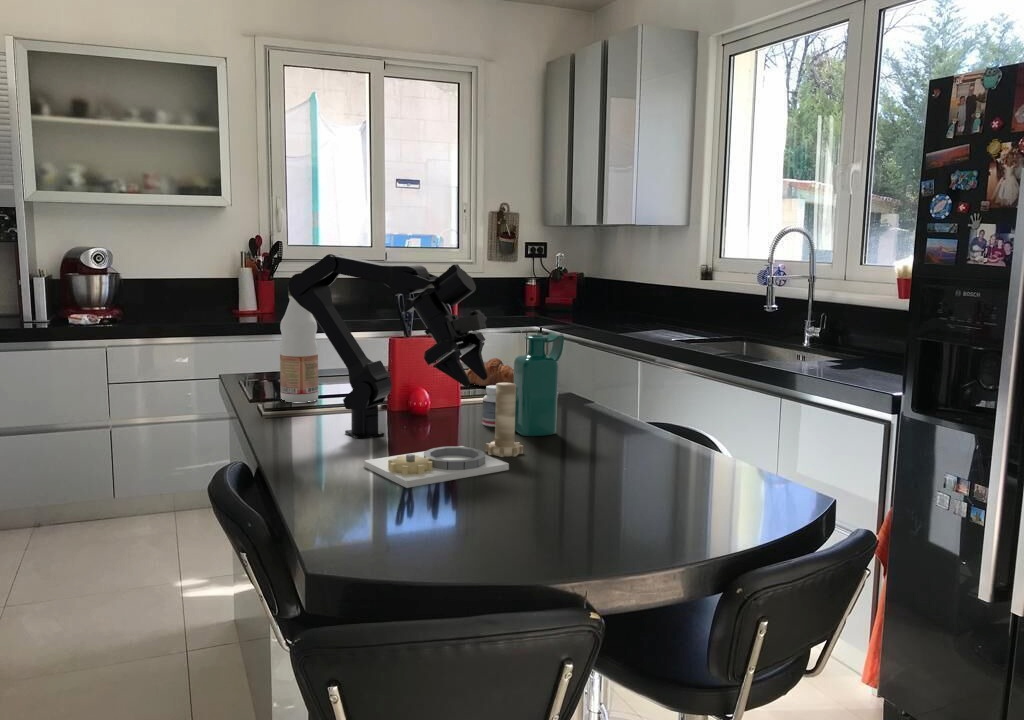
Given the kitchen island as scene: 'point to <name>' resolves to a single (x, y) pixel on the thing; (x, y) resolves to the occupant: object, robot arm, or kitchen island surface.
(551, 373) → the pitcher
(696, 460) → the kitchen island surface
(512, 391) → the disc
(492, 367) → the pastry
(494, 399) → the pill bottle
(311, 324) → the fruit juice
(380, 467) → the gear board
